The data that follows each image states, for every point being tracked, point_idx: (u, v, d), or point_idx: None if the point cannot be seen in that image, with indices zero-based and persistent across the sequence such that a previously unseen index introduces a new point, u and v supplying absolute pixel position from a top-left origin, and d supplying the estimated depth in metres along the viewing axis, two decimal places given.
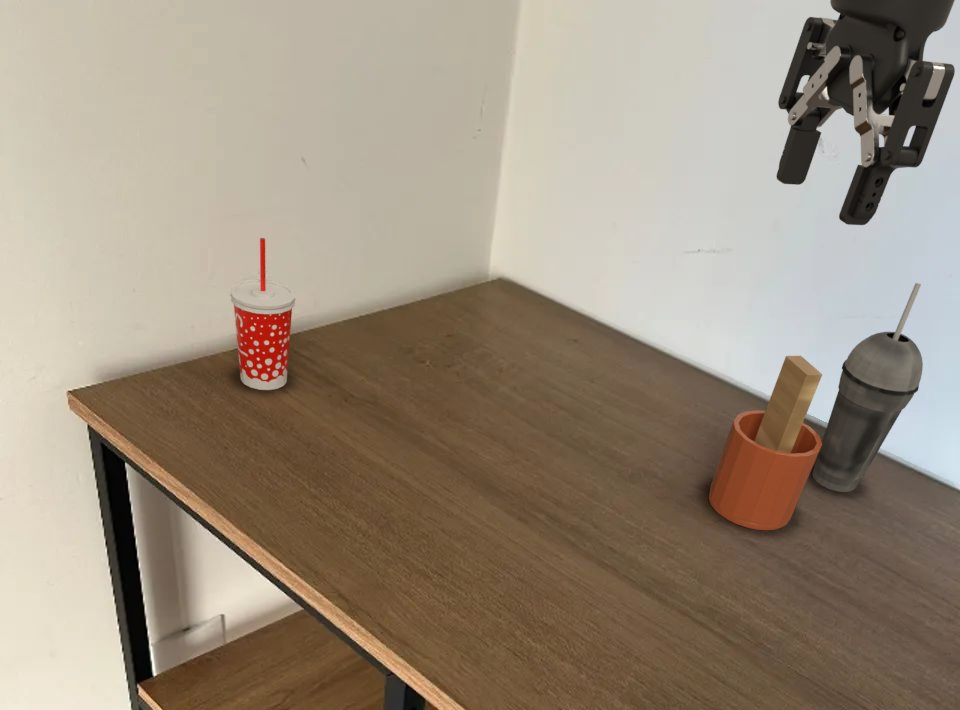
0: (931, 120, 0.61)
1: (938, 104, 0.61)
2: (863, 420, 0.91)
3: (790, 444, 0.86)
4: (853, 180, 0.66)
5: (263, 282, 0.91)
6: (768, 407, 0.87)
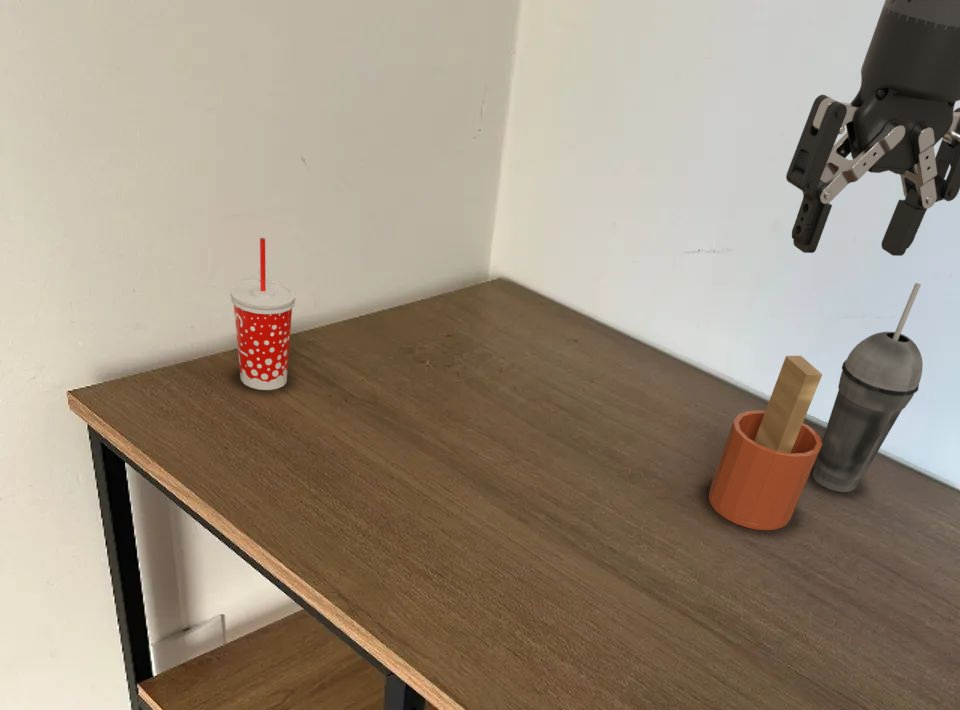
0: (813, 148, 0.69)
1: (819, 135, 0.68)
2: (863, 420, 0.91)
3: (790, 444, 0.86)
4: None
5: (263, 282, 0.91)
6: (768, 407, 0.87)
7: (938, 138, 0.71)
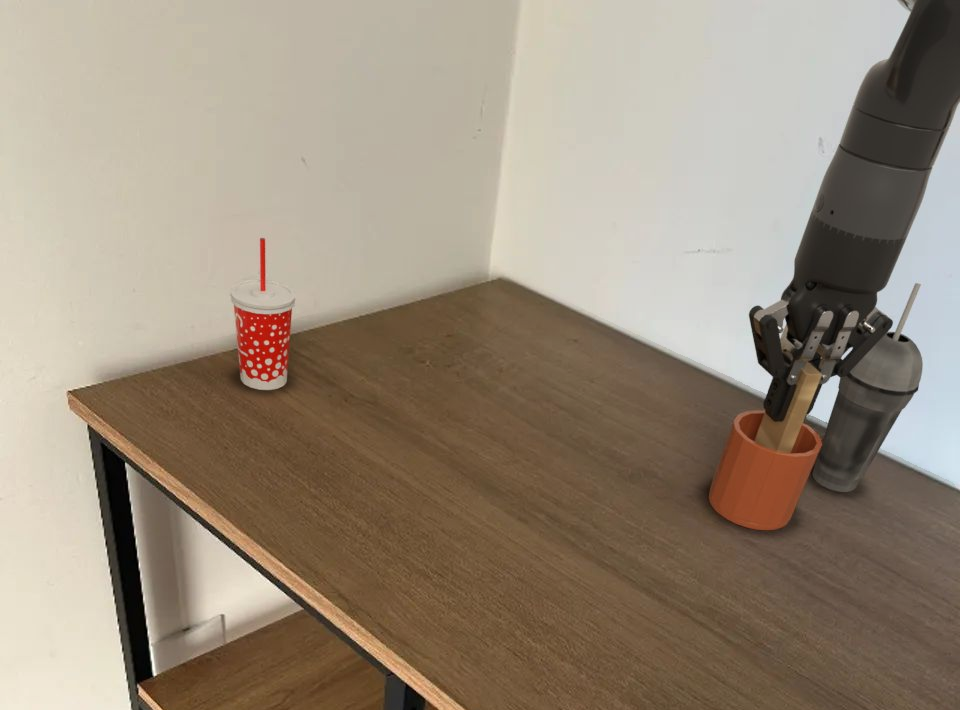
0: (765, 351, 0.80)
1: (764, 342, 0.79)
2: (863, 420, 0.91)
3: (790, 444, 0.86)
4: None
5: (263, 282, 0.91)
6: None
7: (864, 316, 0.80)
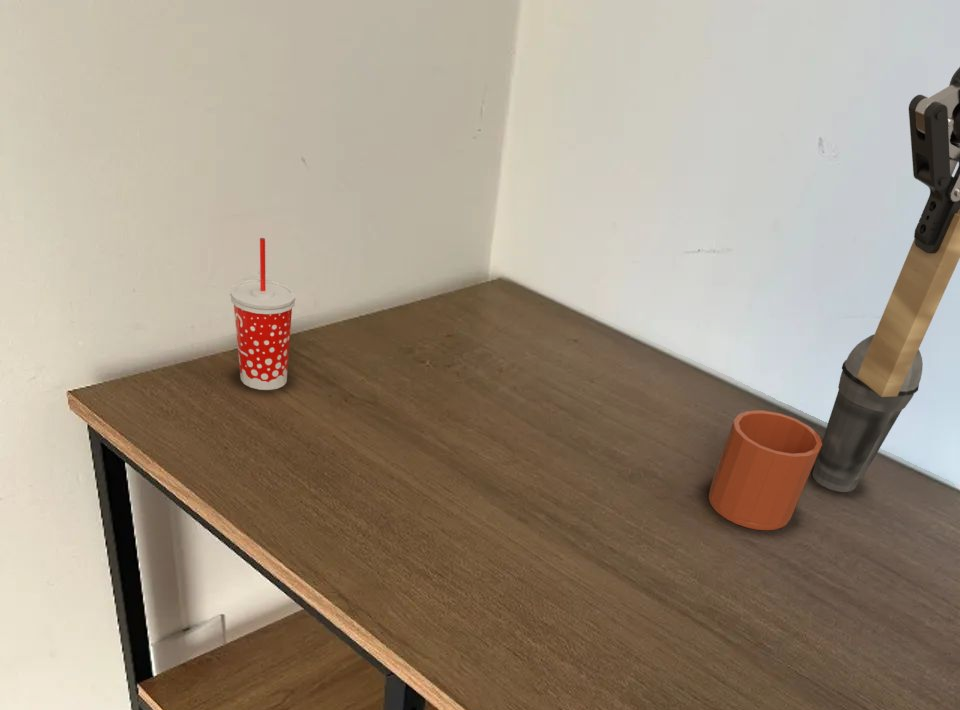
0: (928, 153, 0.65)
1: (928, 140, 0.64)
2: (863, 420, 0.91)
3: (932, 309, 0.73)
4: None
5: (263, 282, 0.91)
6: (904, 267, 0.73)
7: None
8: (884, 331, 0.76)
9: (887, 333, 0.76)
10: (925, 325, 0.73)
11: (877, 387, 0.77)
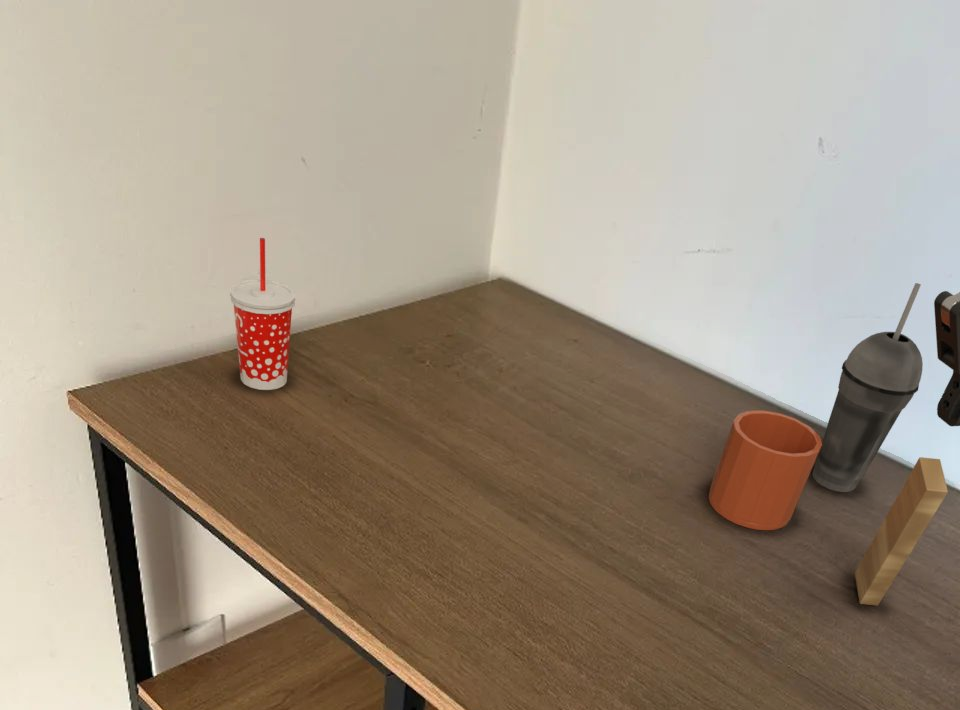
0: (953, 344, 0.68)
1: (953, 334, 0.67)
2: (863, 420, 0.91)
3: (905, 550, 0.77)
4: None
5: (263, 282, 0.91)
6: (894, 503, 0.77)
7: None
8: (873, 548, 0.81)
9: (874, 552, 0.80)
10: (900, 560, 0.78)
11: (860, 593, 0.83)
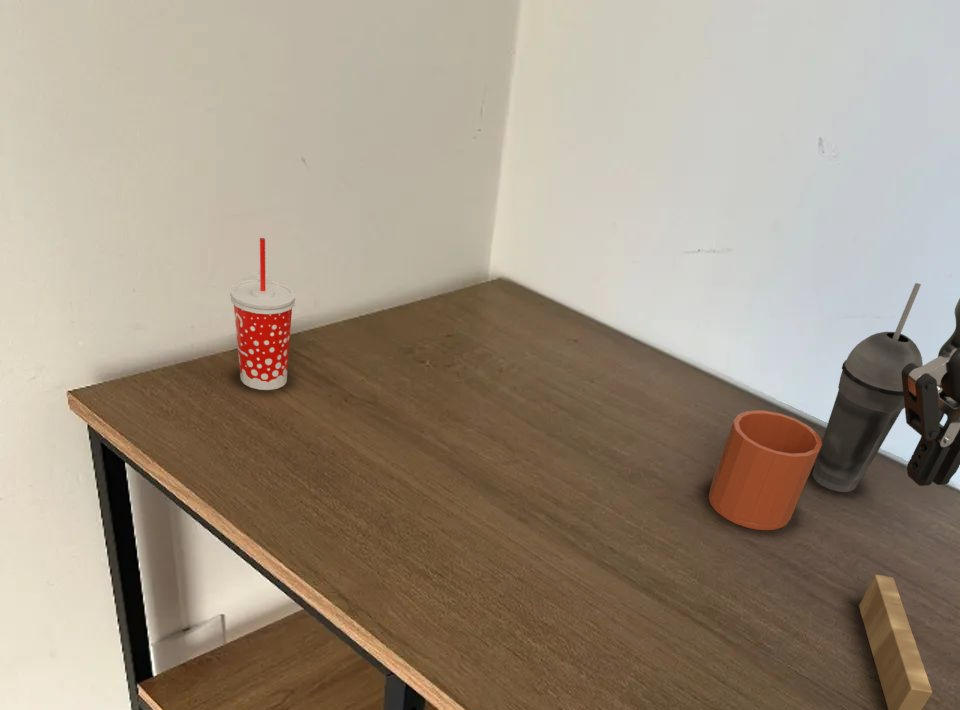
0: (920, 412, 0.71)
1: (919, 403, 0.71)
2: (863, 420, 0.91)
3: None
4: None
5: (263, 282, 0.91)
6: (895, 647, 0.74)
7: None
8: (880, 614, 0.78)
9: (878, 618, 0.78)
10: None
11: (863, 601, 0.82)
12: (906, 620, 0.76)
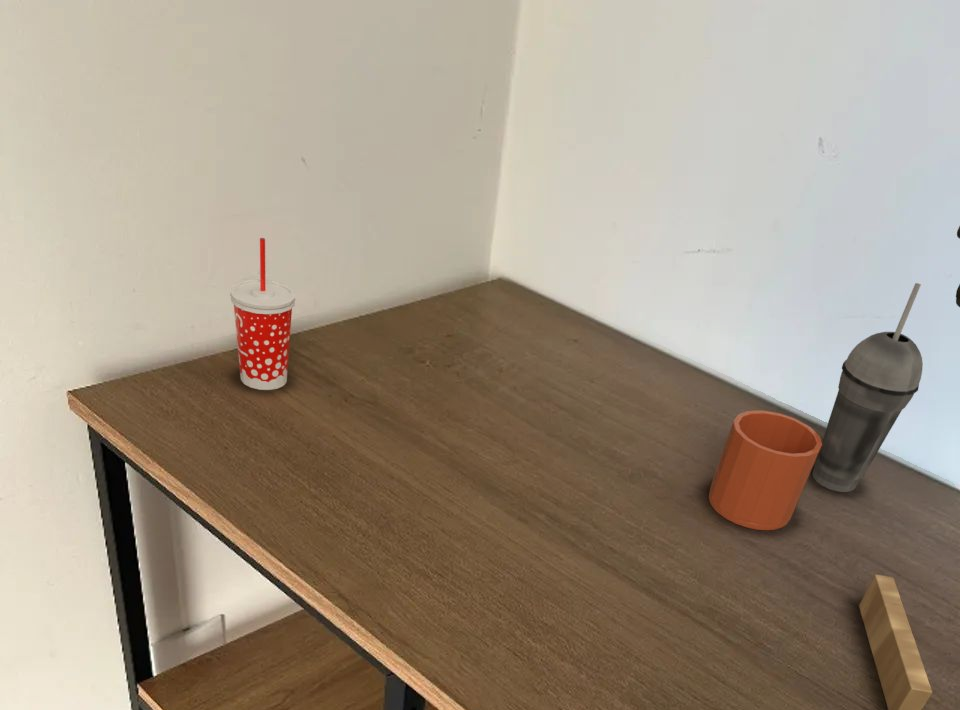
0: None
1: None
2: (863, 420, 0.91)
3: None
4: None
5: (263, 282, 0.91)
6: (895, 647, 0.74)
7: None
8: (880, 614, 0.78)
9: (878, 618, 0.78)
10: None
11: (863, 601, 0.82)
12: (906, 620, 0.76)
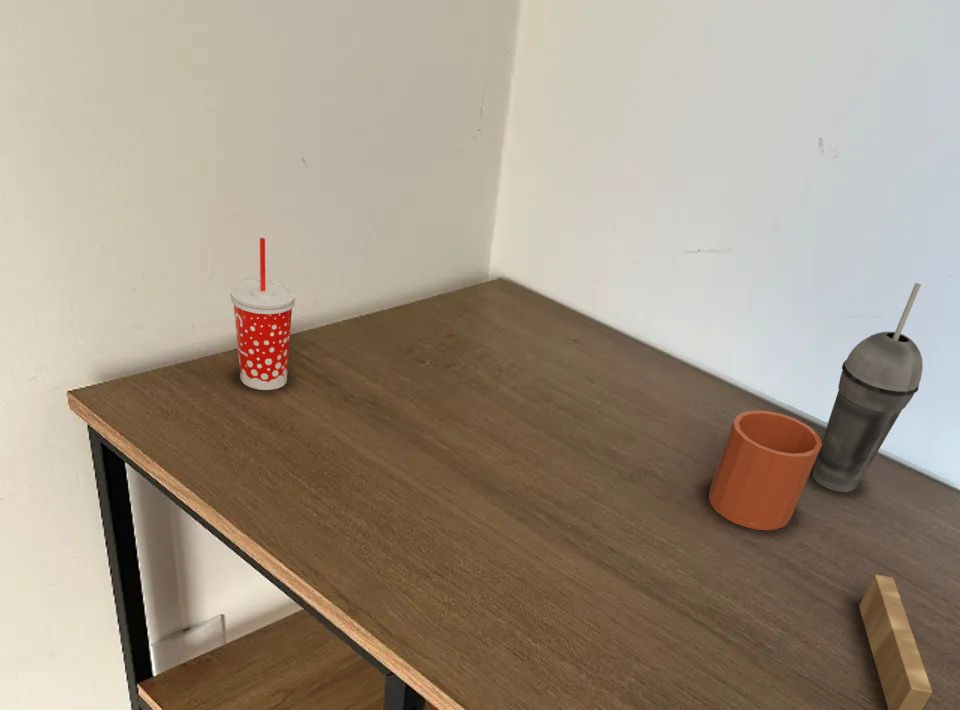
0: None
1: None
2: (863, 420, 0.91)
3: None
4: None
5: (263, 282, 0.91)
6: (895, 647, 0.74)
7: None
8: (880, 614, 0.78)
9: (878, 618, 0.78)
10: None
11: (863, 601, 0.82)
12: (906, 620, 0.76)
